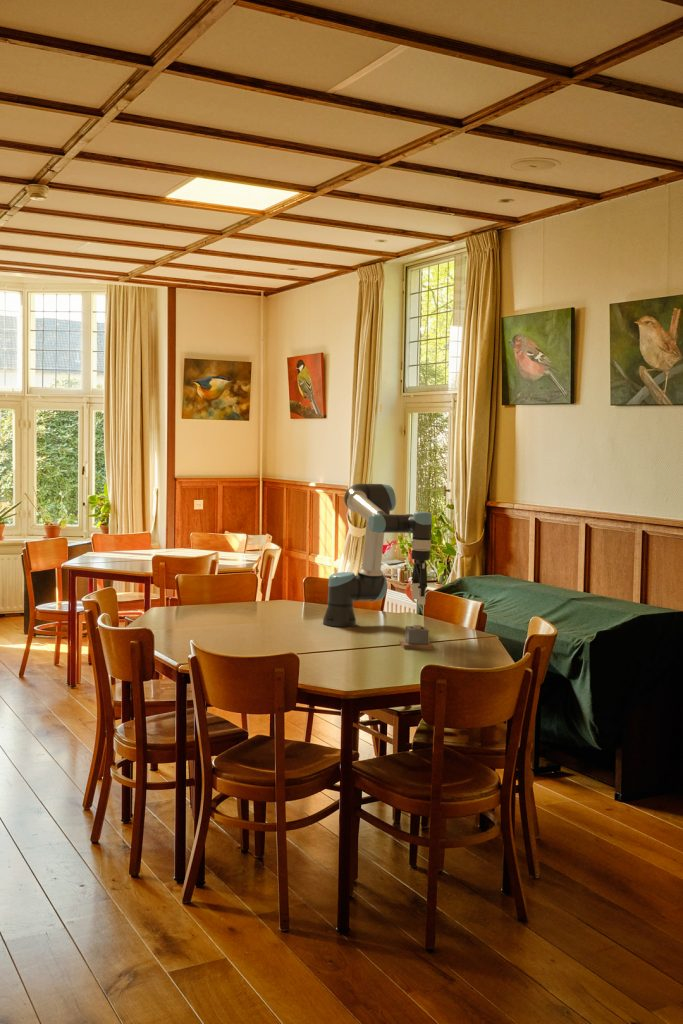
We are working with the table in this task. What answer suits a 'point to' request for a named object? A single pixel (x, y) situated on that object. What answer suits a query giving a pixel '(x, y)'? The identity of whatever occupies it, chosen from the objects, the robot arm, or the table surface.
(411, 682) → the table surface
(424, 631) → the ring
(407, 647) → the post block
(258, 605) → the table surface
